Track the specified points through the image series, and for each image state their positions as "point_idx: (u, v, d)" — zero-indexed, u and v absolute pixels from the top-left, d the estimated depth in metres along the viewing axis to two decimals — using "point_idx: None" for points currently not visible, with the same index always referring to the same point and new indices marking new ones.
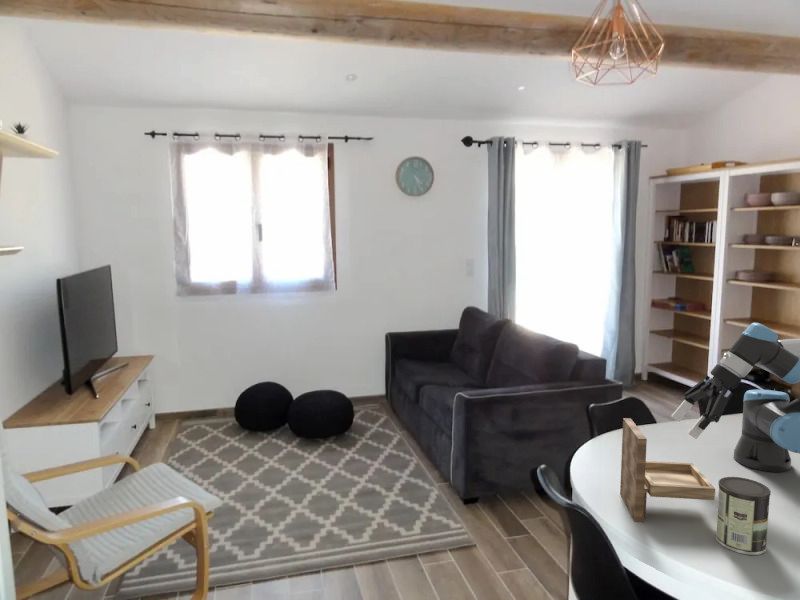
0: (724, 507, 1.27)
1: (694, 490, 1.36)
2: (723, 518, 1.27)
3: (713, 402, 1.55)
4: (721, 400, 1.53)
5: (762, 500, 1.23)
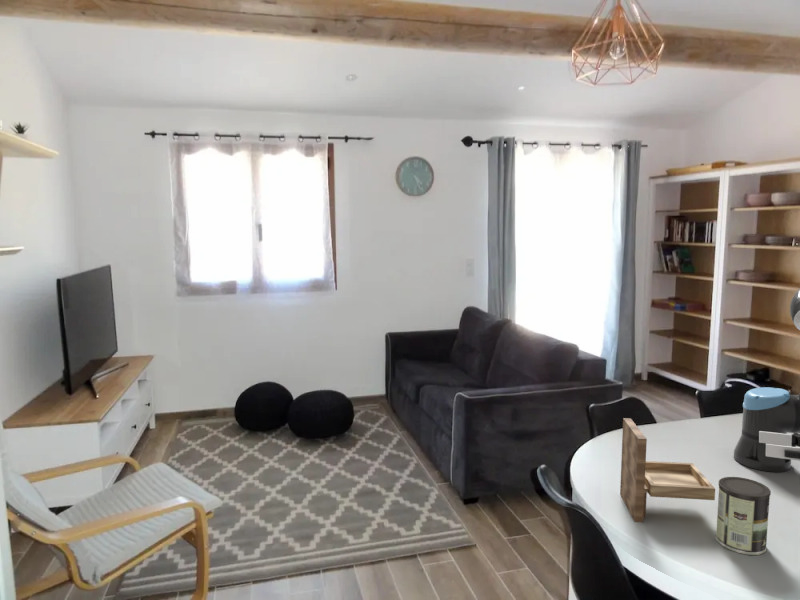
0: (724, 507, 1.27)
1: (694, 490, 1.36)
2: (723, 518, 1.27)
3: None
4: None
5: (762, 500, 1.23)
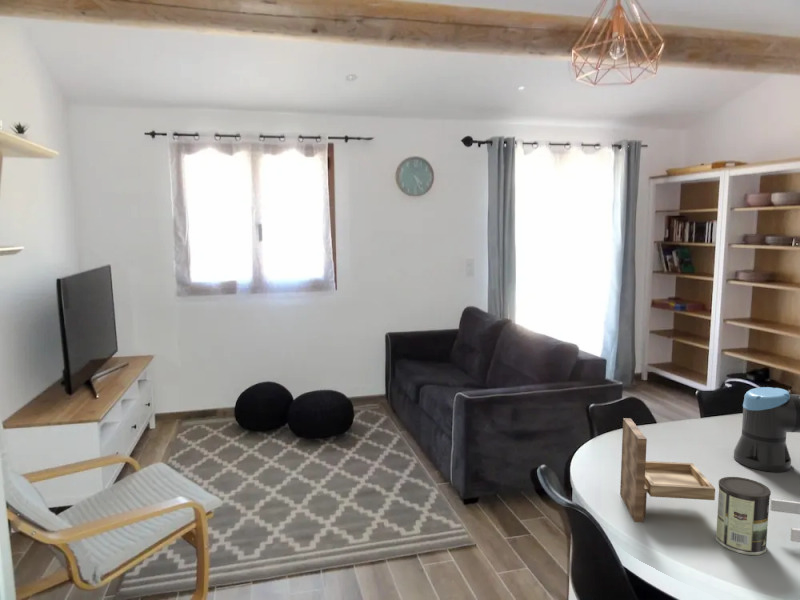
0: (724, 507, 1.27)
1: (694, 490, 1.36)
2: (723, 518, 1.27)
3: None
4: None
5: (762, 500, 1.23)
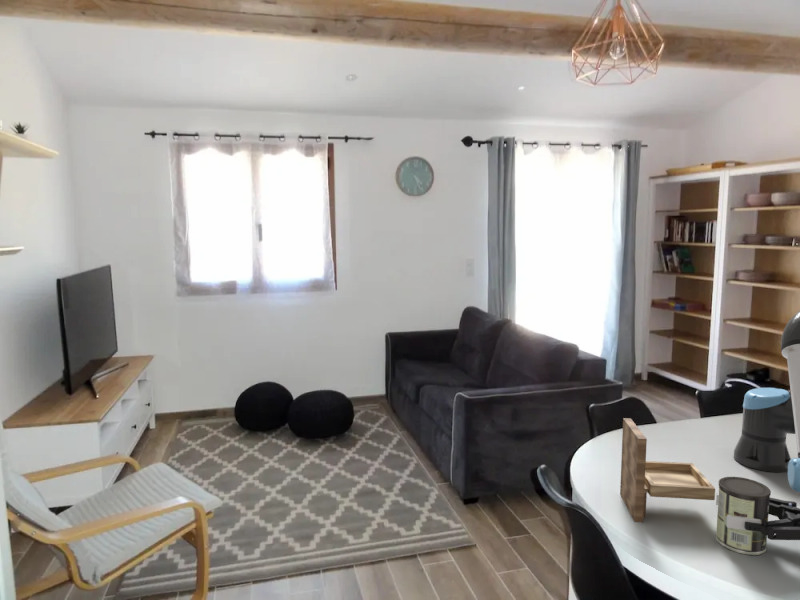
0: (724, 507, 1.27)
1: (694, 490, 1.36)
2: (723, 518, 1.27)
3: None
4: None
5: (762, 500, 1.23)
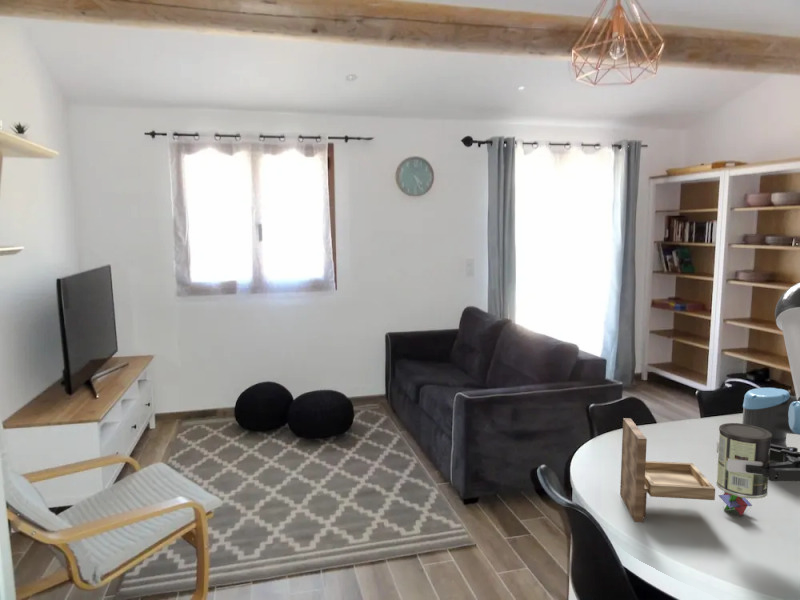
0: (725, 452, 1.26)
1: (694, 490, 1.36)
2: (724, 463, 1.26)
3: None
4: None
5: (763, 442, 1.21)
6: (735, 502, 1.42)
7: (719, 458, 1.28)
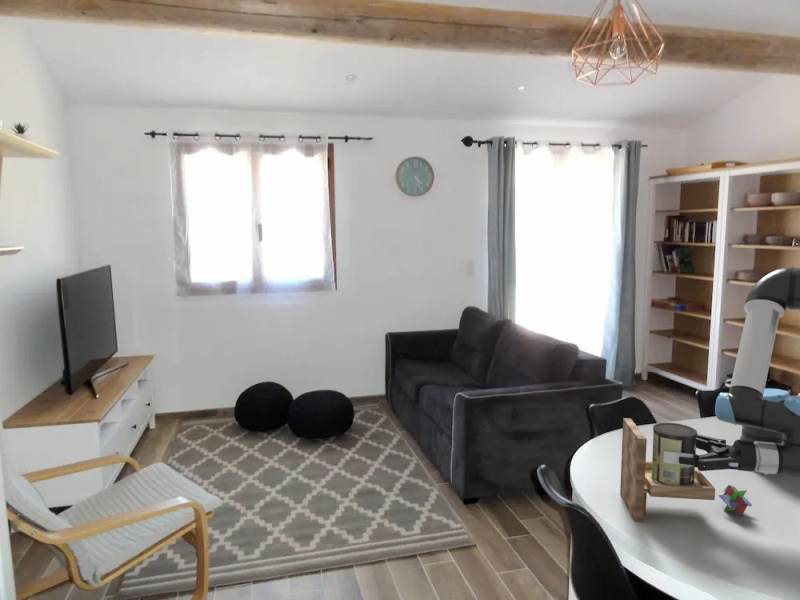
0: (657, 448, 1.41)
1: (694, 490, 1.36)
2: (656, 458, 1.42)
3: None
4: None
5: (688, 439, 1.37)
6: (735, 502, 1.42)
7: (653, 454, 1.44)
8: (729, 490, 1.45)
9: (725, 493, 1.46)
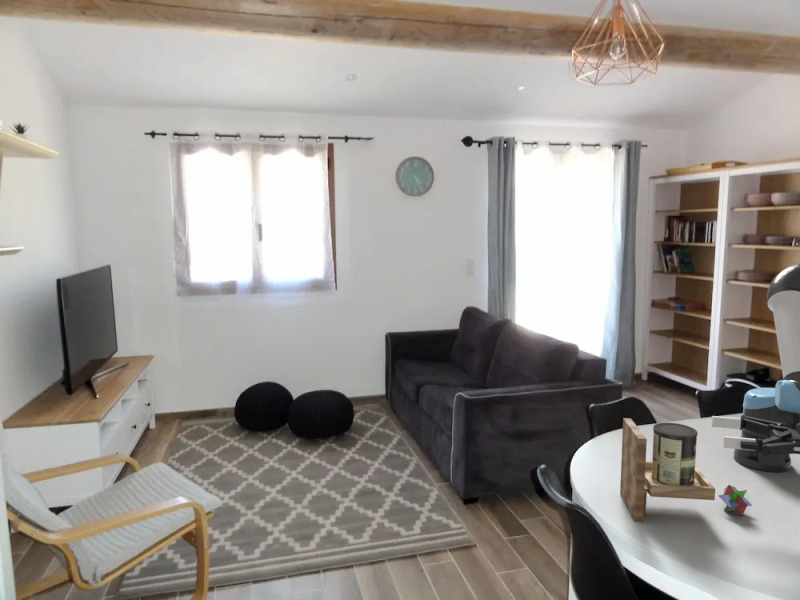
0: (657, 448, 1.41)
1: (694, 490, 1.36)
2: (656, 457, 1.42)
3: None
4: None
5: (688, 439, 1.37)
6: (735, 502, 1.42)
7: (653, 453, 1.44)
8: (729, 490, 1.45)
9: (725, 493, 1.46)
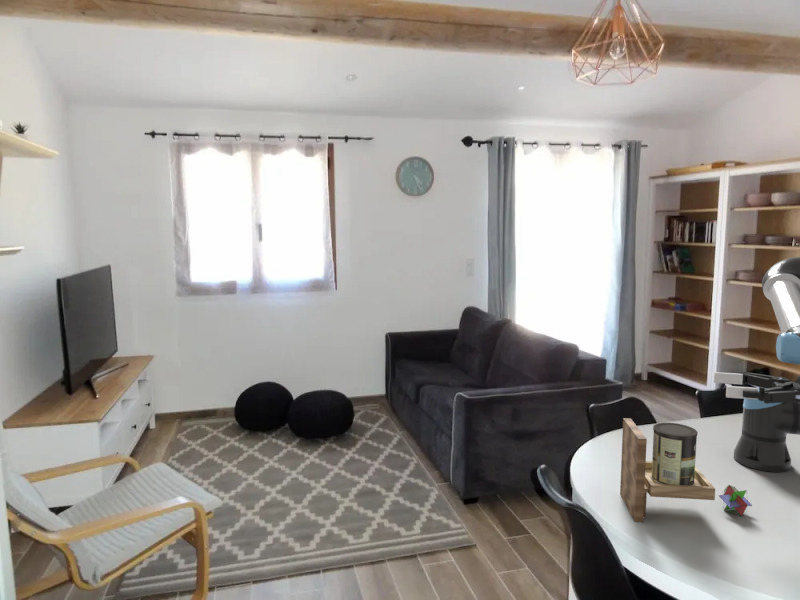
0: (657, 448, 1.41)
1: (694, 490, 1.36)
2: (656, 457, 1.42)
3: None
4: None
5: (688, 439, 1.37)
6: (735, 502, 1.42)
7: (653, 453, 1.44)
8: (729, 490, 1.44)
9: (725, 493, 1.46)
